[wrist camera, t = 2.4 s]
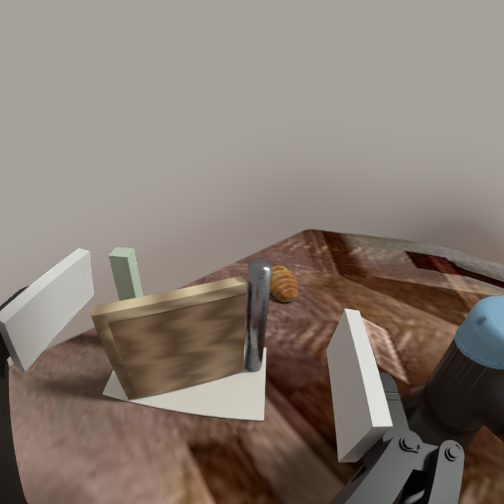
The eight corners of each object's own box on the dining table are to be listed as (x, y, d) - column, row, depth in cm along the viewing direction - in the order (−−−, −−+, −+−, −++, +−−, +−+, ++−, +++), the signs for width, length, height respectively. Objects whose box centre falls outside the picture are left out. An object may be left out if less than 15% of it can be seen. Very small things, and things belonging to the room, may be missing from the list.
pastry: (304, 301, 59) (307, 286, 57) (273, 307, 57) (275, 291, 55) (288, 276, 67) (290, 262, 65) (260, 280, 65) (261, 266, 63)
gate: (239, 363, 43) (241, 276, 35) (243, 370, 42) (246, 283, 33) (126, 391, 36) (91, 306, 28) (128, 399, 35) (90, 315, 27)
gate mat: (266, 348, 47) (266, 347, 47) (263, 421, 35) (263, 420, 35) (131, 333, 48) (131, 332, 47) (103, 394, 35) (102, 393, 35)
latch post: (153, 339, 47) (134, 248, 38) (149, 349, 45) (127, 257, 36) (138, 336, 47) (116, 247, 38) (133, 346, 45) (108, 255, 36)
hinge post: (262, 360, 45) (272, 259, 35) (261, 373, 42) (272, 272, 33) (244, 359, 45) (249, 258, 35) (243, 372, 42) (247, 270, 33)
